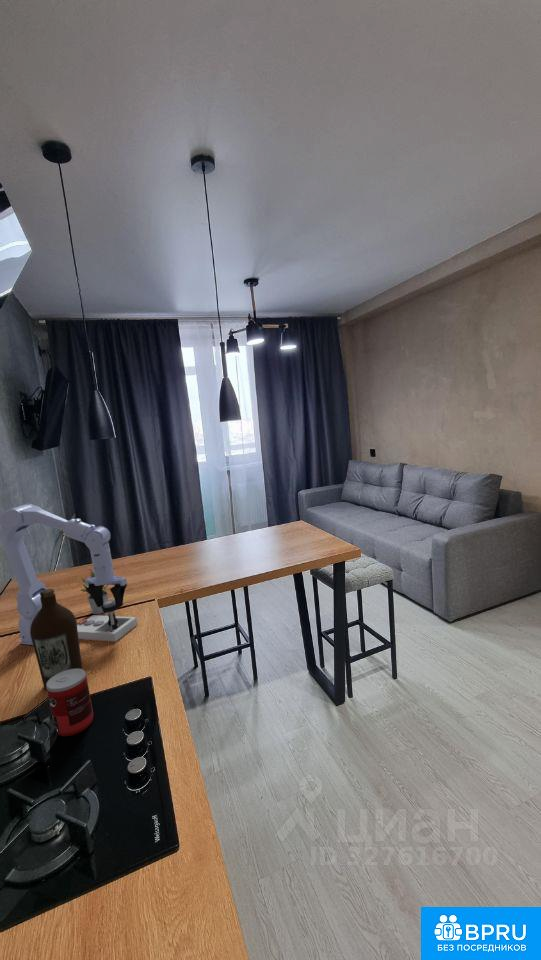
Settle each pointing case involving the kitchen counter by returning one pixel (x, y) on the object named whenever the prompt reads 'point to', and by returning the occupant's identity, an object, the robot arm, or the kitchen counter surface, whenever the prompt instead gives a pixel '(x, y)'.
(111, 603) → the push button
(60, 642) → the olive oil
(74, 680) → the canned food
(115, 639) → the control panel
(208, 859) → the kitchen counter surface
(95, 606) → the house plant
